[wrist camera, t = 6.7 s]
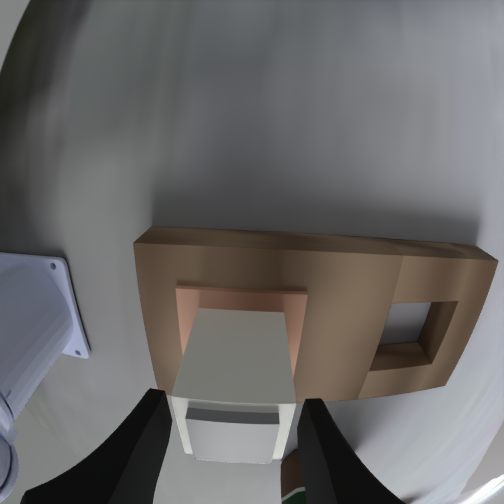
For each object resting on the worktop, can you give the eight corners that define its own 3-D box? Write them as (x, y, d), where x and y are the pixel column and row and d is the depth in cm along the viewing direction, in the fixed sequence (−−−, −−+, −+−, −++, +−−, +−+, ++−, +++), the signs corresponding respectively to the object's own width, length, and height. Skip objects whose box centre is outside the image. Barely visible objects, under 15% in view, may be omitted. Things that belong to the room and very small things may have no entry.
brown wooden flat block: (167, 367, 19) (158, 396, 16) (150, 227, 15) (130, 245, 12) (432, 364, 19) (446, 388, 16) (475, 246, 15) (501, 262, 12)
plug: (202, 368, 15) (183, 462, 9) (198, 307, 14) (167, 407, 8) (276, 372, 15) (282, 468, 9) (284, 312, 14) (297, 415, 8)
